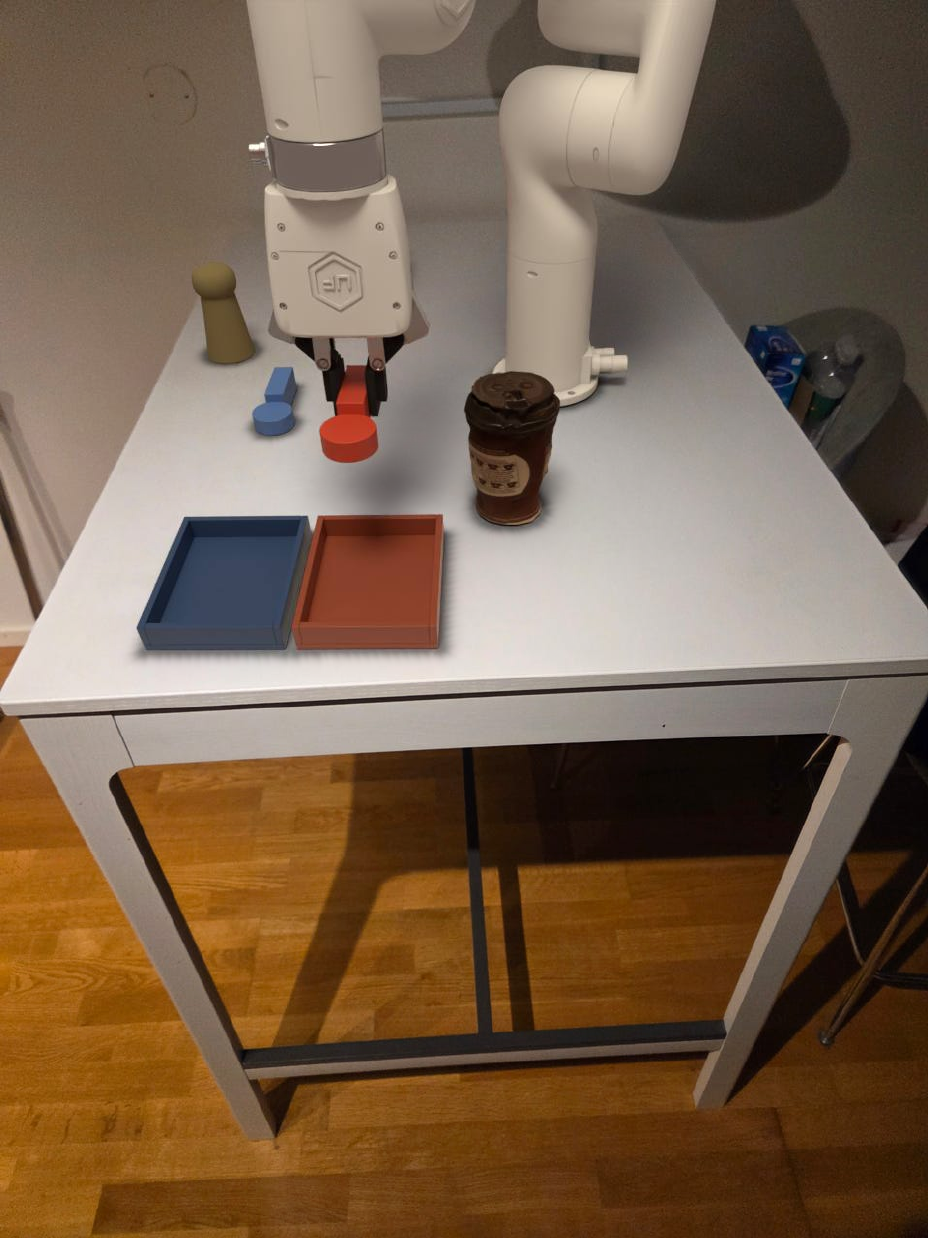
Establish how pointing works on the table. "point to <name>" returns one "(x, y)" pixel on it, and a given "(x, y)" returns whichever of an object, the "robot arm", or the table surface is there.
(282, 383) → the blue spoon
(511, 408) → the coffee cup
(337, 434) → the red spoon
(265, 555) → the blue tray
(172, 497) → the table surface
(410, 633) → the red tray
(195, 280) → the olive brown pawn
